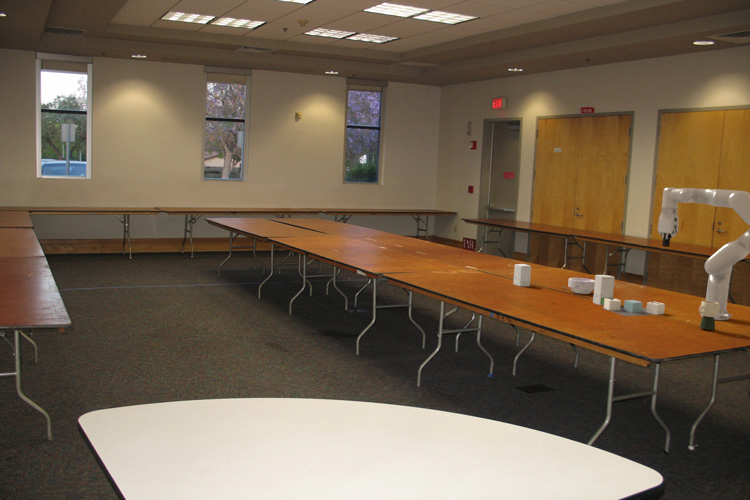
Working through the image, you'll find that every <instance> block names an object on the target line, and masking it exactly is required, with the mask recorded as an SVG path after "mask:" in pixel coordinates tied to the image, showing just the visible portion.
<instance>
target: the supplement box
mask: <svg viewBox="0 0 750 500" xmlns="http://www.w3.org/2000/svg"><path fill="white" fill-rule="evenodd" d="M531 272H532V265H528V264H527V263H526V264H525V263H520V264H519V263H518V264H517V263H516V264H514V271H513V285H515V286H518V287H530V286H531V277H532V276H531Z"/></svg>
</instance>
